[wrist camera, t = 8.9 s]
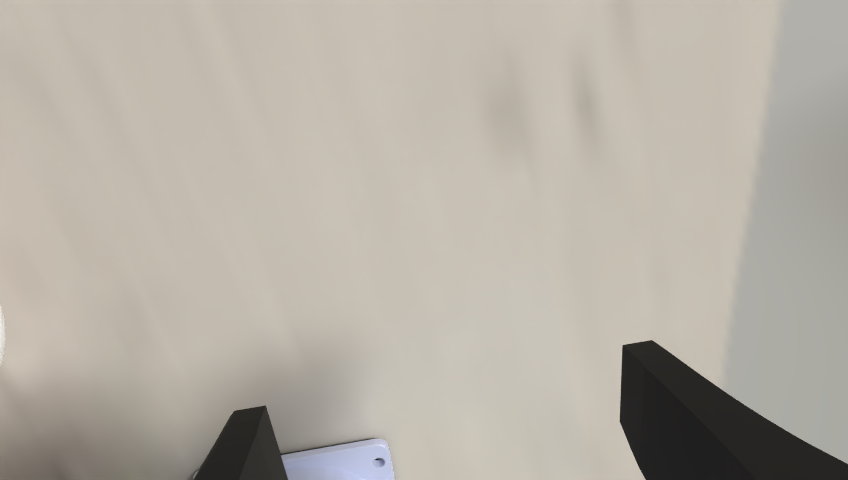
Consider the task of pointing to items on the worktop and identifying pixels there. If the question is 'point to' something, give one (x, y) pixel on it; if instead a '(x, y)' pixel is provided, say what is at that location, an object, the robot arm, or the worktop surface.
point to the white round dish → (2, 335)
